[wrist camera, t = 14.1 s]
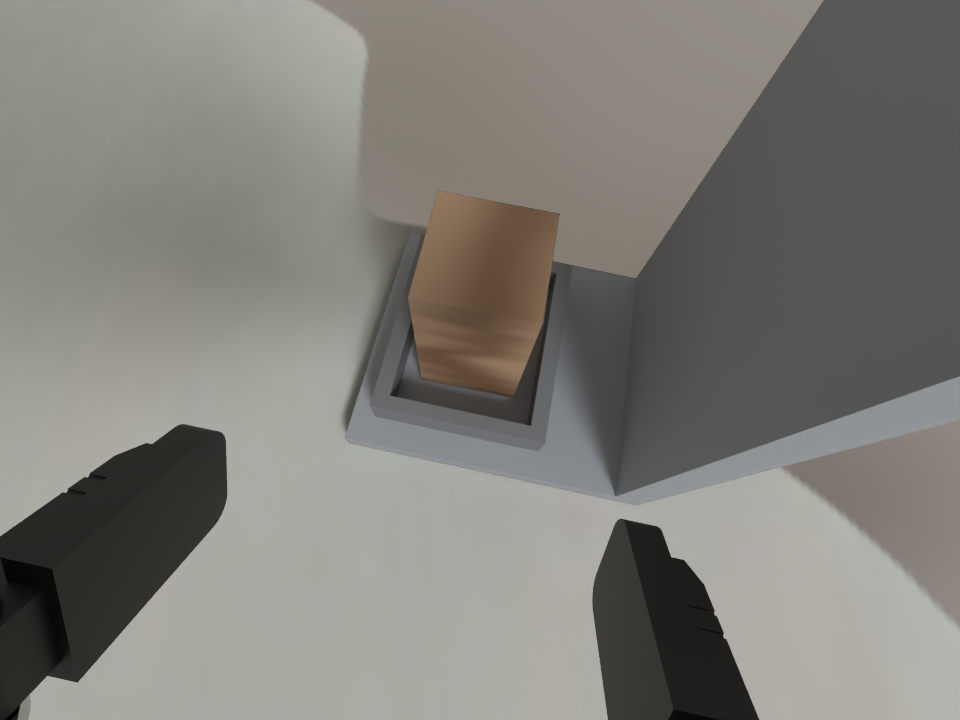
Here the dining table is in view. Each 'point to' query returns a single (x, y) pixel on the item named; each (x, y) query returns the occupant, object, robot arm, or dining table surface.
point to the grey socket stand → (739, 293)
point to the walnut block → (481, 291)
